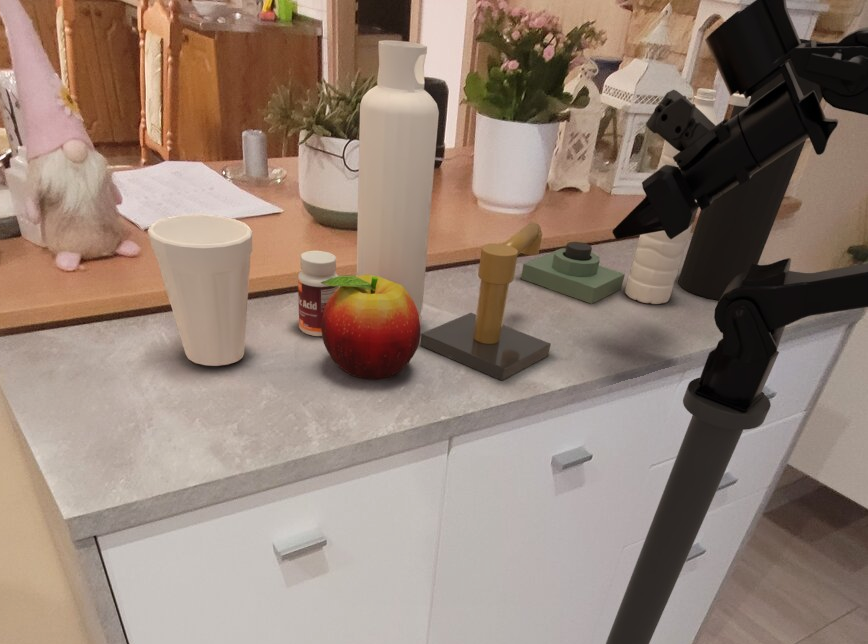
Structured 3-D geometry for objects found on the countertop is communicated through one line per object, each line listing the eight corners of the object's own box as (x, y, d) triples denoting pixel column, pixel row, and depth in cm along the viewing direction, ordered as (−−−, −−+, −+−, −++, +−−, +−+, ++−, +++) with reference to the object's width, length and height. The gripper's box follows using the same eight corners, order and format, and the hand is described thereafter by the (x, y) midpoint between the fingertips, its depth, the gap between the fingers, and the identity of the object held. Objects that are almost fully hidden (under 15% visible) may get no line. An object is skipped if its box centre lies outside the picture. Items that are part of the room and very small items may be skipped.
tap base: (548, 355, 87) (563, 284, 81) (501, 380, 81) (514, 305, 75) (469, 324, 92) (478, 254, 86) (420, 345, 86) (426, 272, 80)
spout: (505, 290, 79) (511, 258, 77) (472, 282, 80) (476, 250, 78) (547, 253, 90) (552, 223, 87) (517, 246, 91) (522, 216, 88)
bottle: (407, 346, 85) (429, 53, 66) (345, 332, 87) (348, 41, 68) (429, 322, 91) (454, 46, 72) (369, 309, 93) (379, 35, 73)
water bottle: (616, 294, 104) (671, 85, 87) (637, 284, 108) (695, 82, 91) (670, 313, 100) (739, 98, 83) (690, 302, 104) (760, 95, 87)
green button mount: (621, 289, 106) (628, 260, 103) (591, 304, 100) (598, 274, 98) (552, 266, 111) (558, 238, 108) (520, 279, 106) (525, 250, 103)
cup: (280, 354, 81) (273, 229, 72) (219, 386, 74) (203, 253, 66) (212, 330, 84) (198, 207, 75) (148, 358, 78) (124, 228, 69)
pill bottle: (291, 326, 87) (288, 253, 81) (321, 318, 89) (321, 246, 84) (315, 340, 84) (314, 266, 79) (346, 331, 87) (347, 258, 81)
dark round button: (593, 259, 104) (596, 246, 102) (581, 264, 101) (584, 251, 100) (572, 252, 105) (574, 239, 104) (559, 257, 103) (562, 244, 102)
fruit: (426, 389, 78) (435, 295, 71) (326, 391, 76) (325, 294, 69) (407, 346, 85) (414, 258, 78) (316, 347, 83) (314, 256, 76)
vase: (671, 273, 113) (746, 32, 93) (734, 279, 113) (823, 41, 93) (686, 297, 106) (771, 41, 85) (754, 304, 106) (855, 50, 85)
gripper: (729, 55, 76) (601, 155, 86) (697, 70, 63) (552, 184, 74) (773, 155, 79) (645, 239, 90) (752, 188, 66) (606, 281, 77)
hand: (614, 234), depth 82 cm, fingers closed
